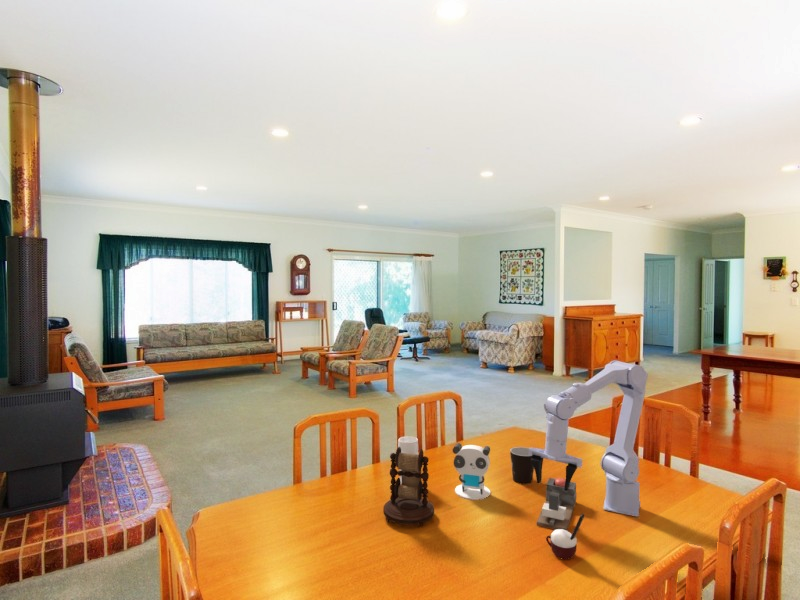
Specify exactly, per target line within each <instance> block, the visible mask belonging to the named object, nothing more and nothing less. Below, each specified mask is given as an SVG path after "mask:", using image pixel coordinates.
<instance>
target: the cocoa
mask: <svg viewBox="0 0 800 600" xmlns="http://www.w3.org/2000/svg"><path fill="white" fill-rule="evenodd" d="M584 518H585V513H582V514H580V516H579V518H578V519H577V523H576V525H575V527H574V529H573V532H572V533H571V532H570V531H568V530H567V531H566V530H563V529H556V530H555V529H553V531H552V533H551V534H550V535H547V536H546V537H545V540H546V543H547V544H548V545H549V547H550V548H551V552H552V553H553V554H554V556H556V557H557V558H559V559H561V558H562V560H569V559H572V558H573V557H574V556H575V555H576V551H577V547H578V546H577V543H578V539H577V537H576V536H577V533H578V531H579V530H580V527H581V524H582V522H583V520H584ZM549 539H550V540H549Z"/></svg>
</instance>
